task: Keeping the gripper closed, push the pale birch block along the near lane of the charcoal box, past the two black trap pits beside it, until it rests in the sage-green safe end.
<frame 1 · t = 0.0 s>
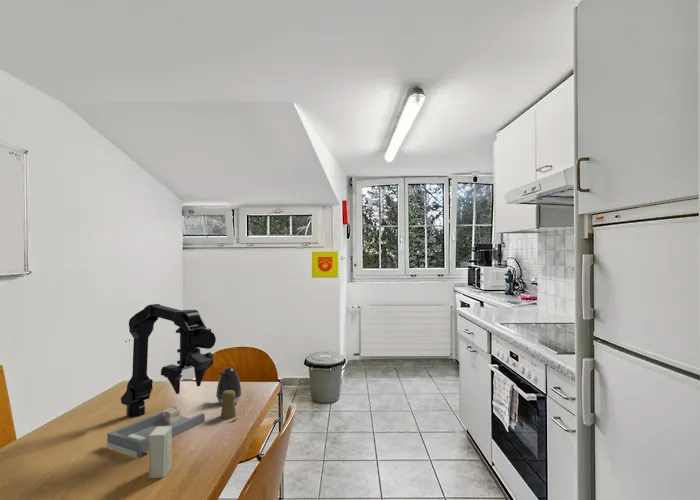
hand: (188, 389, 143), 15 cm above the table, tool pointing down, fingers open, 9 cm apart
skincare box: (160, 473, 116), on the table
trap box: (158, 435, 139), on the table
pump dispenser: (228, 404, 170), on the table
birch block: (171, 421, 148), point 1 cm above the table, touching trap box
cork: (228, 420, 153), on the table
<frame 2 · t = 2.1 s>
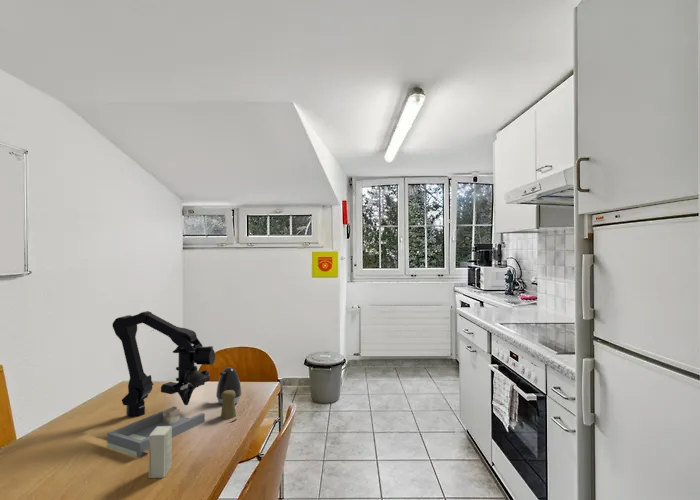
hand: (186, 404, 155), 5 cm above the table, tool pointing down, fingers closed
nothing on the table moved.
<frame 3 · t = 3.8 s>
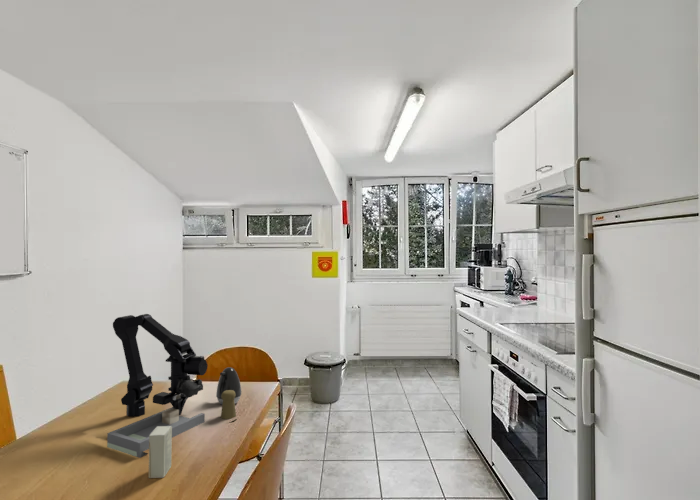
hand: (179, 415, 151), 3 cm above the table, tool pointing down, fingers closed
birch block: (170, 421, 148), point 2 cm above the table, touching gripper, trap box
everything else where it was.
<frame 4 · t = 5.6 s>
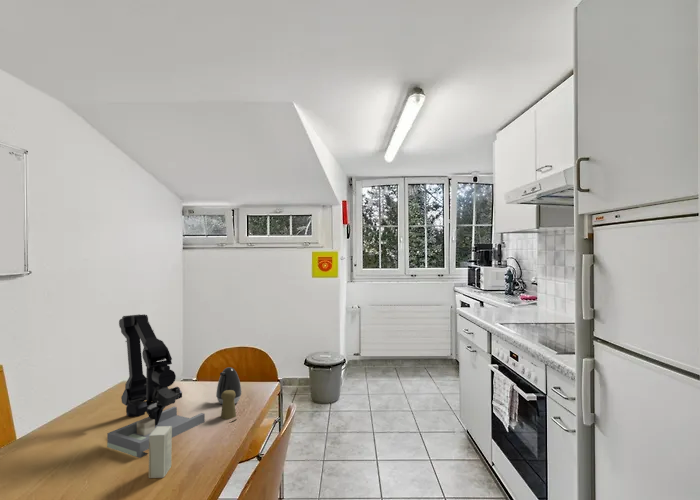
hand: (155, 425, 142), 3 cm above the table, tool pointing down, fingers closed
birch block: (145, 432, 139), point 2 cm above the table, touching gripper
everything else where it was.
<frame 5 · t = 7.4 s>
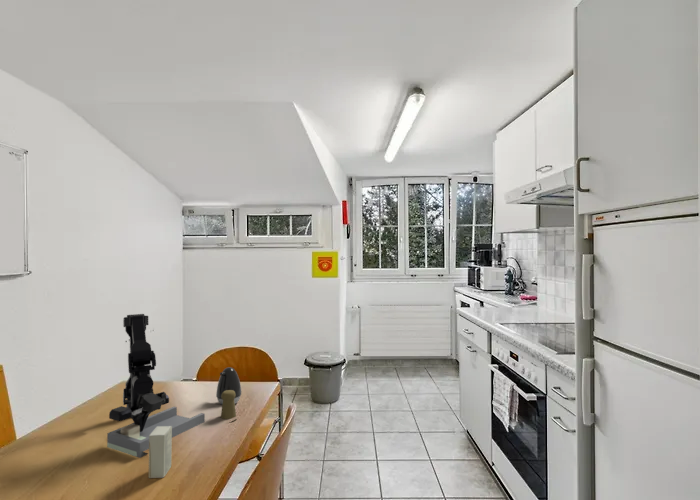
hand: (140, 431, 137), 3 cm above the table, tool pointing down, fingers closed
birch block: (130, 439, 134), point 1 cm above the table, touching gripper, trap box
everything else where it was.
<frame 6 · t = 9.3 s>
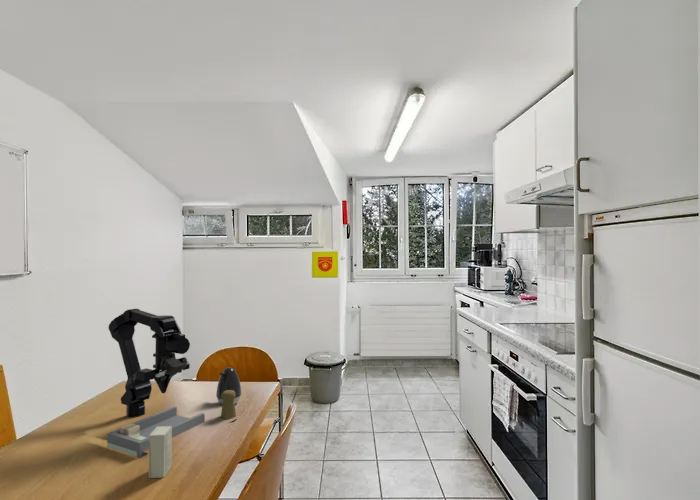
hand: (163, 393, 148), 12 cm above the table, tool pointing down, fingers closed
birch block: (130, 439, 134), point 1 cm above the table, touching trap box
everything else where it was.
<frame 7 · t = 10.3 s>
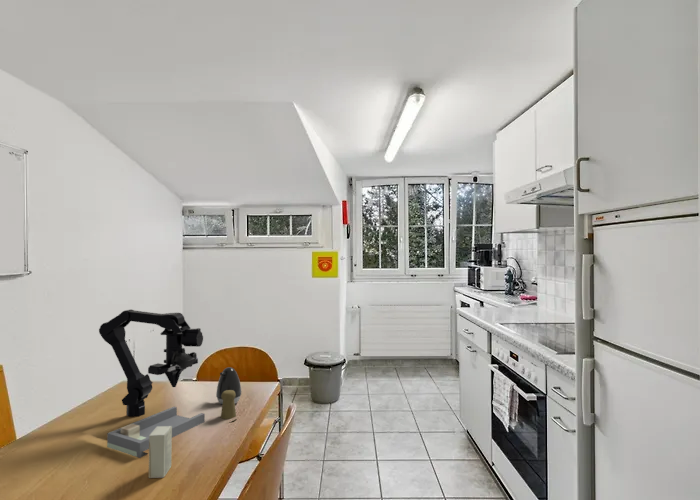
hand: (174, 386, 155), 12 cm above the table, tool pointing down, fingers closed
nothing on the table moved.
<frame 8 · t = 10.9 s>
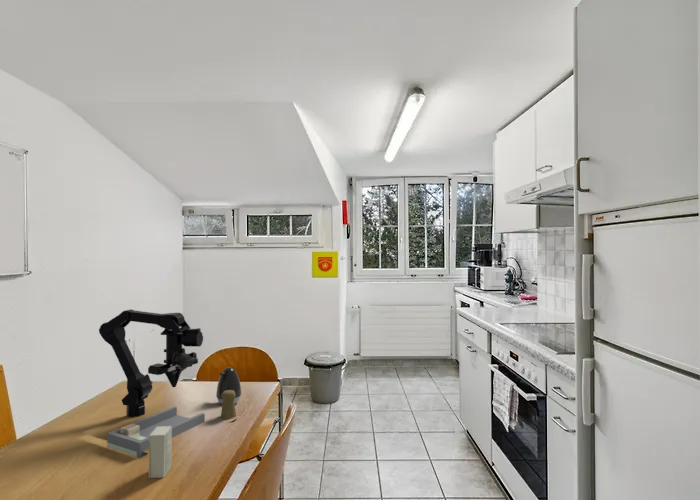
hand: (174, 386, 155), 12 cm above the table, tool pointing down, fingers closed
nothing on the table moved.
at the end: birch block 0.4 cm from the target spot, point 1.5 cm above the table; birch block tilted 0°; the gripper is holding nothing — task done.
